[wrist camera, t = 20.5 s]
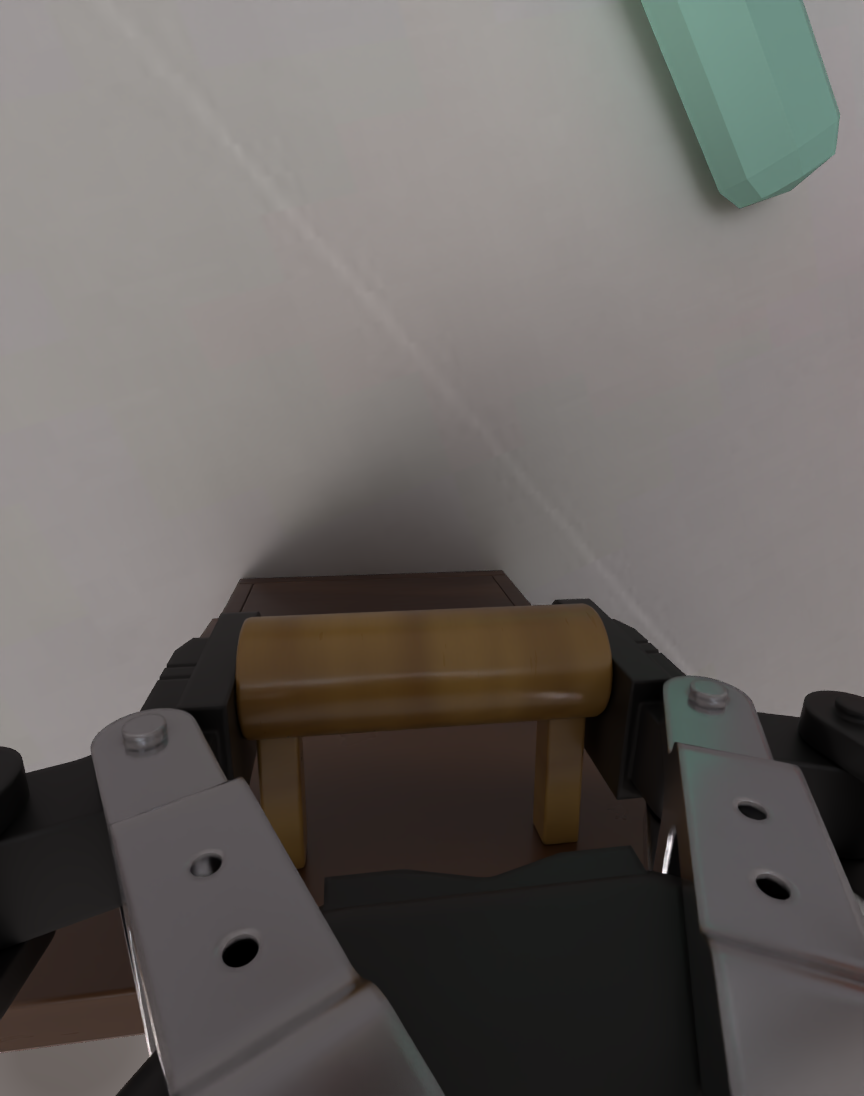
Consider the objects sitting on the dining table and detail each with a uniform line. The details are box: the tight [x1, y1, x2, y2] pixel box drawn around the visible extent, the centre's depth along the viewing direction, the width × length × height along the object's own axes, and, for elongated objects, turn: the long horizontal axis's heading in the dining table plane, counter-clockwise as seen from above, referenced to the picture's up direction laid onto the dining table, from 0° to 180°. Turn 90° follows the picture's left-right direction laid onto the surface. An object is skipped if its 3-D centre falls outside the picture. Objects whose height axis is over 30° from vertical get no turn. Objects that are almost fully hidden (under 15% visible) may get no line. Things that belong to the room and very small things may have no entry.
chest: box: [222, 570, 531, 617], centre depth 30 cm, size 16×14×6 cm
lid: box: [0, 603, 646, 1053], centre depth 16 cm, size 16×14×5 cm
